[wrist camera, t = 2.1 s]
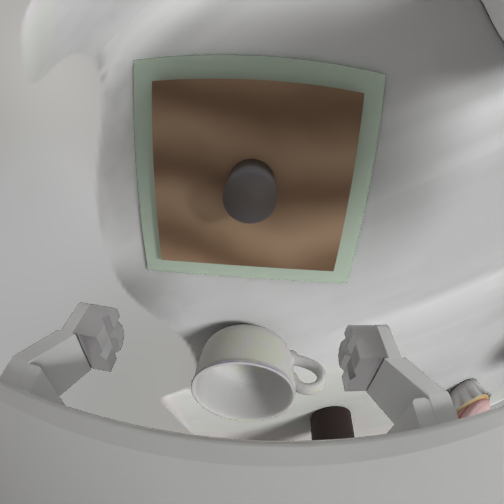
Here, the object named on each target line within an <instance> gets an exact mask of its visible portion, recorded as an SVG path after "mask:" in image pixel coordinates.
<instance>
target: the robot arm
mask: <svg viewBox="0 0 504 504" xmlns="http://www.w3.org/2000/svg"><path fill="white" fill-rule="evenodd" d="M481 1H482V2H483V4H484V6H485V8H486V10H487V12H488V14H489V16H490V18H491V20H492V22H493V24H494V26H495V28H496V30H497V31H498V33H499V35H500V36H501V38H502V39H503V41H504V0H481ZM119 317H120V316H119V313H118V310H117V309H116V308H112V307H106V306H100V305H94V304H87V303H82V302H81V303H79V304H78V305H77V307H76V308H75V310H74V311H73V313H72V314H71V316H70V317H69V319H68V320H67V322H66V324H65V325H64V327H63V328H62V330H61V331H60V330H57V331H55V332H53V333H52V334H50V335H49V336H47V337H45V338H43V339H41V340H40V341H38V342H36V343H34V344H33V345H31V346H29V347H28V348H26V349H24V350H22V351H21V352H19V353H17V354H16V355H14V356H13V357H12V358H11V360H10V362H9V363H8V365H7V366H6V368H5V370H4V371H3V373H2V375H1V376H0V504H504V405H503V406H501V407H498V408H495V409H492V410H489V411H485V412H482V413H479V414H476V415H472V416H469V417H465V418H461V419H459V418H458V415H457V412H456V410H455V407H454V405H453V402H452V400H451V397H450V395H449V392H447V391H446V390H445V389H444V388H443V387H441V386H440V385H439V384H438V383H436V382H435V381H434V380H433V379H431V378H430V377H429V376H428V375H427V374H425V373H424V372H423V371H422V370H420V369H419V368H418V367H417V366H415V365H414V364H413V363H412V362H410V361H409V360H408V359H407V358H405V357H401V354H400V352H399V349H398V347H397V344H396V342H395V340H394V337H393V335H392V332H391V330H390V328H389V326H388V325H348V326H347V328H346V330H345V333H344V334H345V338H346V339H344V340H343V341H342V342H341V344H340V348H339V355H338V357H339V365H340V368H342V369H343V370H344V372H343V375H342V380H343V385H344V390H345V391H367V393H368V394H369V395H370V396H371V398H372V399H373V400H374V401H375V402H376V403H377V405H378V406H379V407H380V408H381V409H382V410H383V411H384V413H385V414H386V415H387V416H388V417H389V418H390V420H391V421H392V422H393V423H394V426H393V427H392V428H391V429H390V430H389V432H388V433H387V434H381V435H374V436H365V437H355V438H344V439H329V440H305V441H270V440H246V439H231V438H219V437H209V436H200V435H192V434H185V433H178V432H171V431H165V430H160V429H154V428H149V427H144V426H139V425H134V424H130V423H126V422H121V421H117V420H113V419H109V418H105V417H101V416H98V415H94V414H91V413H87V412H84V411H81V410H78V409H74V408H71V407H68V406H66V405H65V404H64V402H63V401H62V399H61V398H60V397H59V396H60V395H61V394H63V393H64V392H65V391H66V390H67V389H68V388H70V387H71V386H72V385H73V384H74V383H76V382H77V381H78V380H79V379H80V378H82V377H83V376H84V375H85V374H86V373H87V372H89V371H90V370H91V368H93V369H98V370H103V371H109V372H111V370H112V368H113V366H114V363H115V361H116V356H115V353H116V352H118V351H119V350H121V347H122V345H123V340H124V330H123V326H122V325H121V324H120V323H119V322H118V319H119Z"/></svg>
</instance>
